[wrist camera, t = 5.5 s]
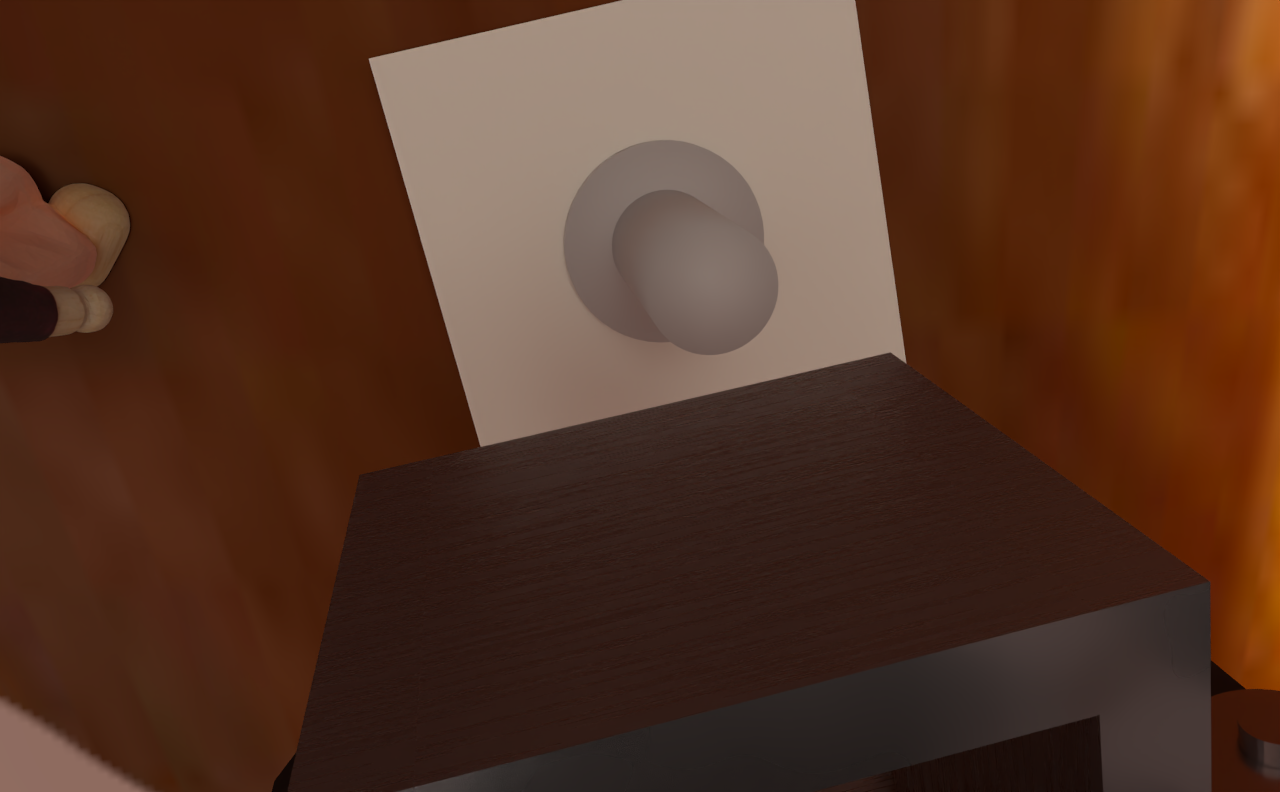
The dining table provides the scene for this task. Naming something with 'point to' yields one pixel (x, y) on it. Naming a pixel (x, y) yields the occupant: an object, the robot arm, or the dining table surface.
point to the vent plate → (586, 105)
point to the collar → (757, 611)
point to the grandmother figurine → (55, 256)
